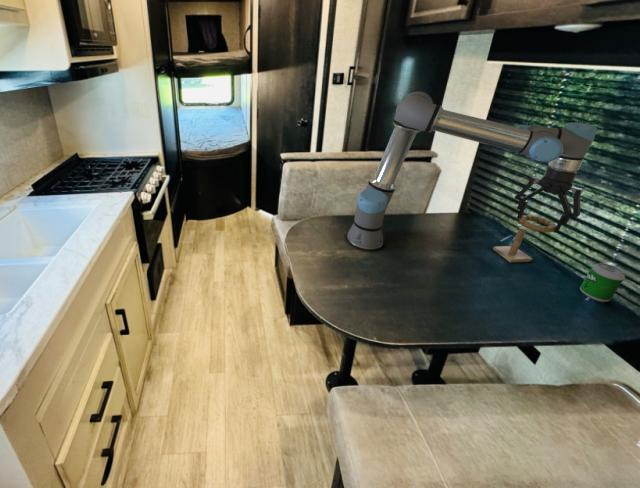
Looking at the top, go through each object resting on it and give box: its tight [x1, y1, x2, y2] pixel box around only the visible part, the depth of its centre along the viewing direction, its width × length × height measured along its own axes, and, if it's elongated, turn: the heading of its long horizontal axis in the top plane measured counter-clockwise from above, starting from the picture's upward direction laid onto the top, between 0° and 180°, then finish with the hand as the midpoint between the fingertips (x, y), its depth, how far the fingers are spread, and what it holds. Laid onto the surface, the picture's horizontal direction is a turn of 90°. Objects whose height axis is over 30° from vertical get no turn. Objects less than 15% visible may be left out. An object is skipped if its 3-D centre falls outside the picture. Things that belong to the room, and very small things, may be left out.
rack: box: [492, 226, 533, 263], centre depth 129 cm, size 9×9×14 cm
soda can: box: [579, 262, 626, 303], centre depth 108 cm, size 8×8×12 cm
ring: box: [518, 214, 557, 234], centre depth 117 cm, size 10×10×2 cm
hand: (537, 223), depth 117 cm, fingers closed on ring, 10 cm apart
